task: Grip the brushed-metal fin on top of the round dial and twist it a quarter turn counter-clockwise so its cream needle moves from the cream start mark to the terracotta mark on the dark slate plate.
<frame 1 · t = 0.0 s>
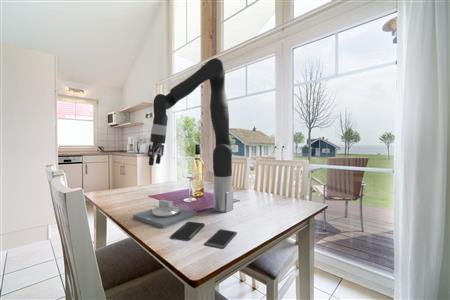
hand: (154, 164, 114), 22 cm above the table, tool pointing down, fingers open, 8 cm apart
cell phone: (221, 240, 78), on the table
phone: (188, 232, 84), on the table
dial: (163, 206, 101), point 4 cm above the table, hinge at 0.0°
dial base: (165, 216, 100), on the table
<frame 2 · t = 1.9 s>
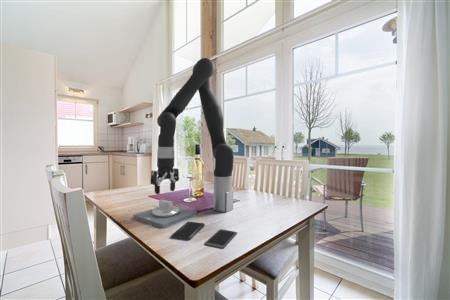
hand: (165, 192, 100), 11 cm above the table, tool pointing down, fingers open, 8 cm apart
nothing on the table moved.
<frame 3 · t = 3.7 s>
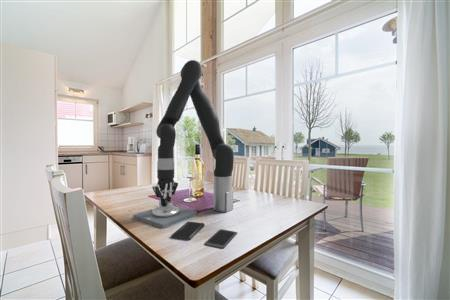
hand: (165, 205, 100), 5 cm above the table, tool pointing down, fingers closed on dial, 2 cm apart
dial: (163, 206, 101), point 4 cm above the table, hinge at 0.0°, touching gripper
everything else where it was.
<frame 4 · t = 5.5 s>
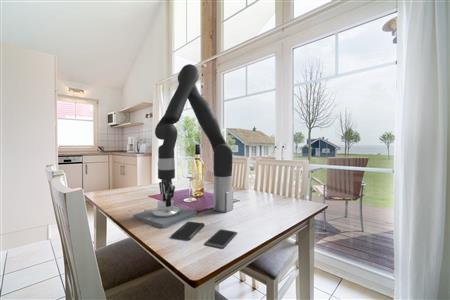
hand: (166, 205, 100), 5 cm above the table, tool pointing down, fingers closed on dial, 3 cm apart
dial: (161, 207, 99), point 4 cm above the table, hinge at 47.7°, touching gripper
everything else where it was.
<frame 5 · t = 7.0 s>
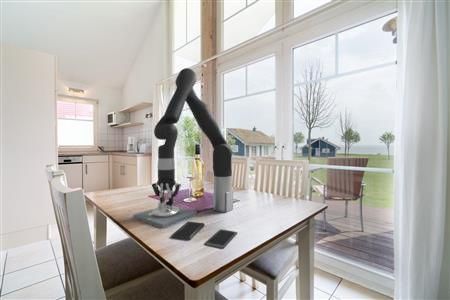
hand: (166, 205, 100), 5 cm above the table, tool pointing down, fingers closed on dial, 3 cm apart
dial: (162, 208, 98), point 4 cm above the table, hinge at 92.5°, touching gripper
everything else where it was.
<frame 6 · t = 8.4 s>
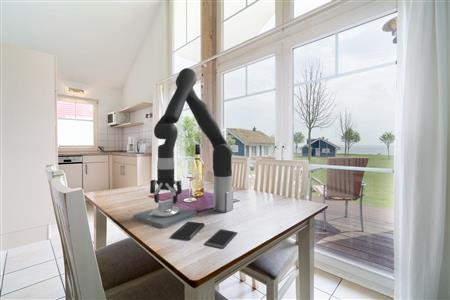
hand: (165, 202, 100), 6 cm above the table, tool pointing down, fingers open, 8 cm apart
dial: (162, 208, 98), point 4 cm above the table, hinge at 92.9°
everything else where it was.
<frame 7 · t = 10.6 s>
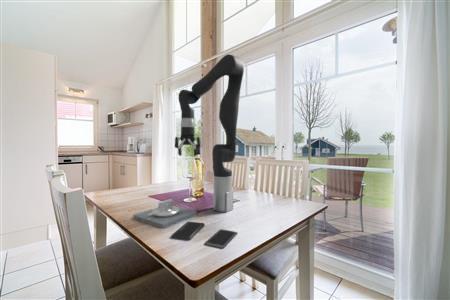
hand: (187, 155, 122), 27 cm above the table, tool pointing down, fingers open, 8 cm apart
nothing on the table moved.
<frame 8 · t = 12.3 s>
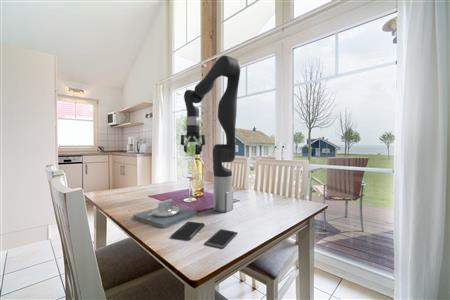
hand: (192, 152, 129), 28 cm above the table, tool pointing down, fingers open, 8 cm apart
nothing on the table moved.
at the end: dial at +93° (first picture: +0°); the gripper is holding nothing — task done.
